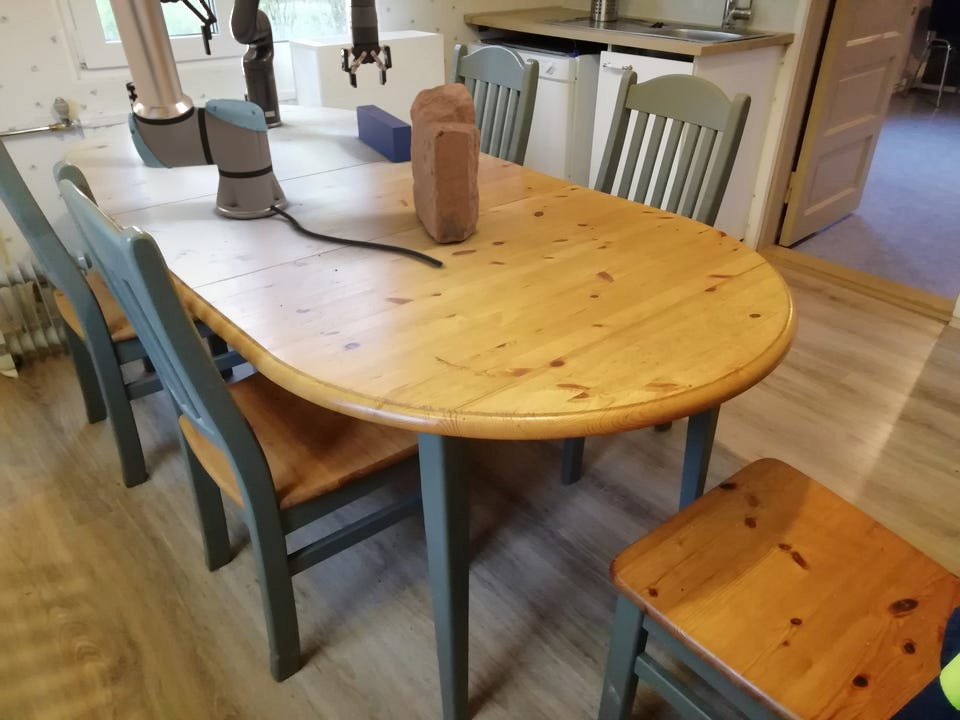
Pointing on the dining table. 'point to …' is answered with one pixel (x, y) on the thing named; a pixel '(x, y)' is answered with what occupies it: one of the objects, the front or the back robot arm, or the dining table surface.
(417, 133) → the stone
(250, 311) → the dining table surface
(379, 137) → the bar
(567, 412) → the dining table surface
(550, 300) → the dining table surface
